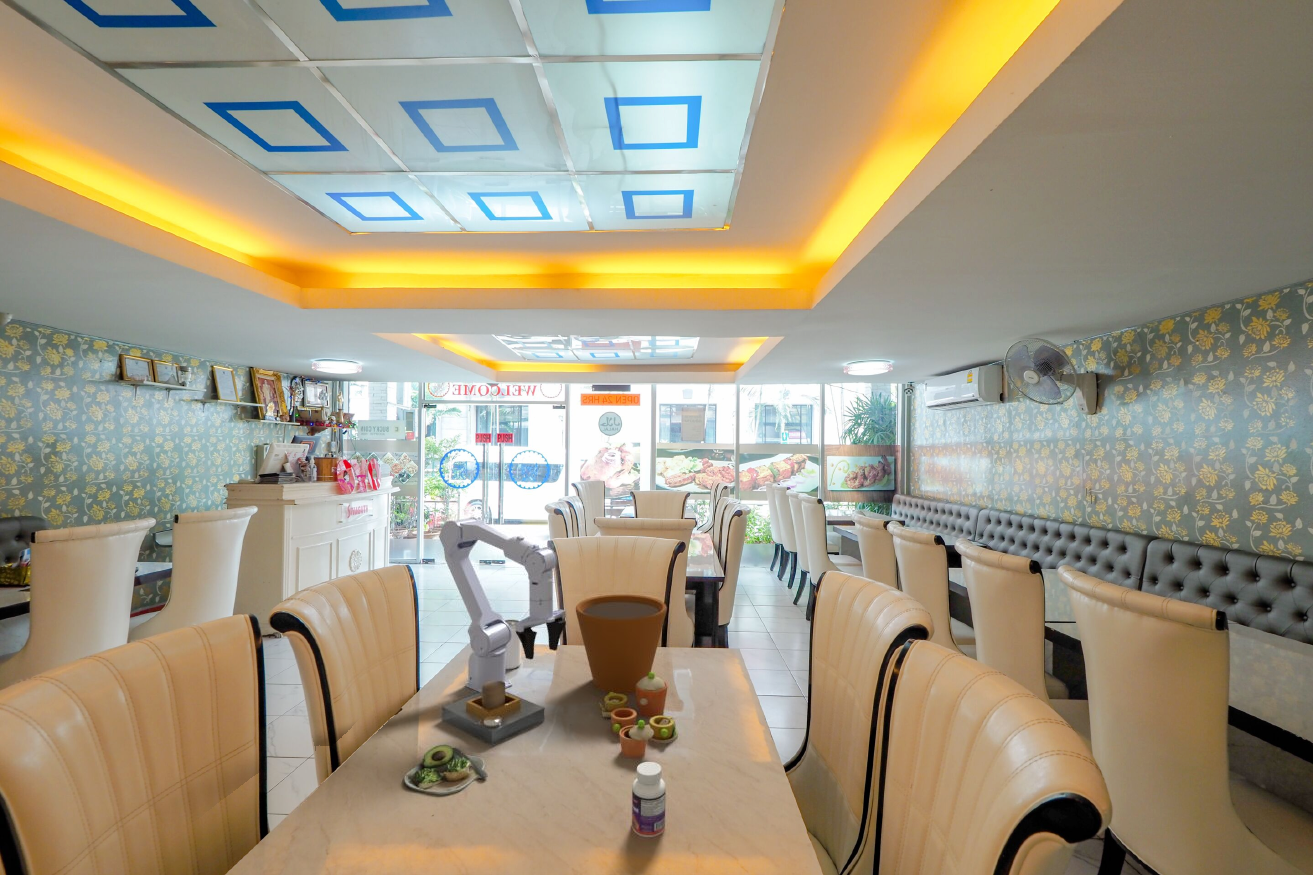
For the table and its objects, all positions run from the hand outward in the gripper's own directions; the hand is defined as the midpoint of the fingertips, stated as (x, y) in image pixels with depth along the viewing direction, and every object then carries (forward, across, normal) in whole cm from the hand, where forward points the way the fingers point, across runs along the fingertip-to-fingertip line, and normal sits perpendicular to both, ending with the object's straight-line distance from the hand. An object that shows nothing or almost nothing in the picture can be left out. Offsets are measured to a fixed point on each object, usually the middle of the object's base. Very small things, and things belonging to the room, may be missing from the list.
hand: (541, 653), depth 142 cm
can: (+10, +8, +23) cm, 26 cm away
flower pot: (+11, +19, -9) cm, 24 cm away
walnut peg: (+10, -15, -1) cm, 19 cm away
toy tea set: (+12, +3, -29) cm, 32 cm away
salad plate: (+11, -33, -13) cm, 37 cm away
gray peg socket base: (+10, -15, -1) cm, 18 cm away
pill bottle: (+12, -22, -51) cm, 57 cm away
